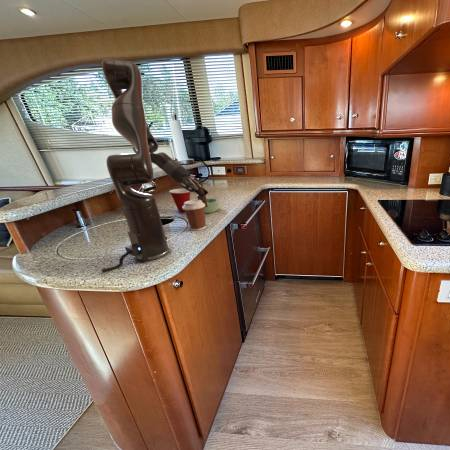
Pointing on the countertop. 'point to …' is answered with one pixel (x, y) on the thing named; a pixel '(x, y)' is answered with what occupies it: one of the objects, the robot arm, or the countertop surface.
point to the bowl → (211, 206)
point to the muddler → (202, 197)
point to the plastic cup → (180, 197)
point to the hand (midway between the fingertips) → (205, 194)
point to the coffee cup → (195, 214)
